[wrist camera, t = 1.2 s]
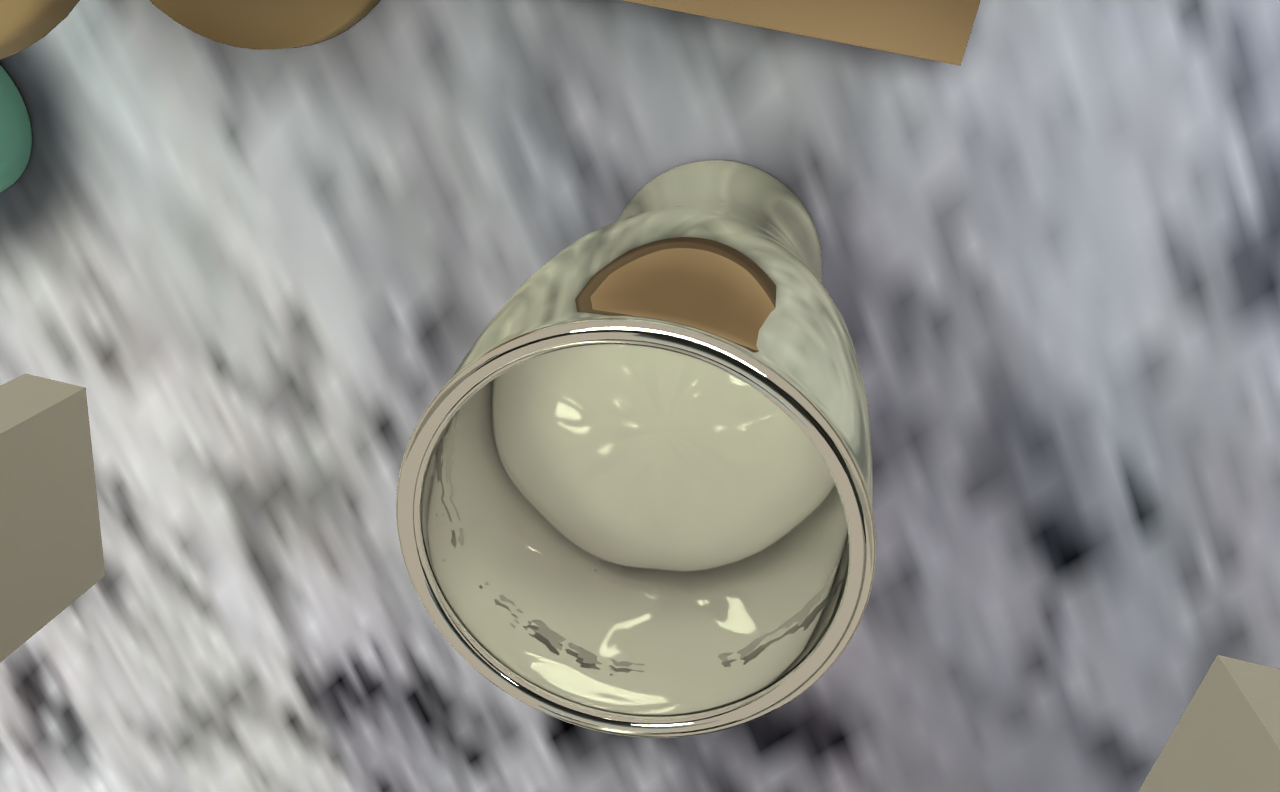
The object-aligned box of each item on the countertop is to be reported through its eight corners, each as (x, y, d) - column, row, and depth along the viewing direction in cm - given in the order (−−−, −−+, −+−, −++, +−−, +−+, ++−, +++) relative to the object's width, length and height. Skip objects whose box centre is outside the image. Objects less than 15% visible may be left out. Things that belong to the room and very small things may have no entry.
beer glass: (550, 223, 26) (280, 455, 12) (761, 91, 23) (719, 194, 10) (674, 415, 28) (560, 805, 14) (881, 310, 25) (986, 653, 12)
